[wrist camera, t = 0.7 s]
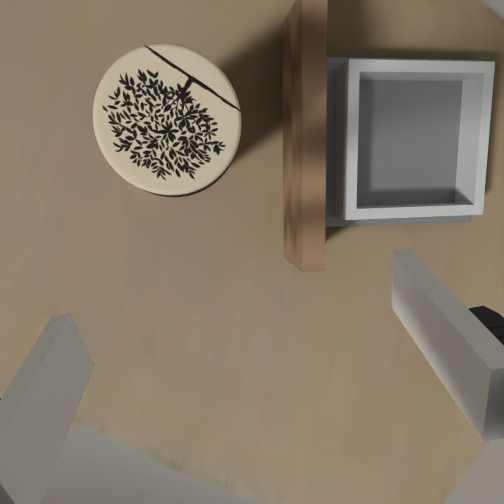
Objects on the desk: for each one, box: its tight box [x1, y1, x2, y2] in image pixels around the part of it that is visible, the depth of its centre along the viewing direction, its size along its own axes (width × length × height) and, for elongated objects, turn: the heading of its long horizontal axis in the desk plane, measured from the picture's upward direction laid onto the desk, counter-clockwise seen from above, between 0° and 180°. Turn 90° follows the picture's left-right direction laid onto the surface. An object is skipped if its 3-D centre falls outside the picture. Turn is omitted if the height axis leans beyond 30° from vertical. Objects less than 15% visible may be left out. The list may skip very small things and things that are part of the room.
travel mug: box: [93, 43, 242, 197], centre depth 29 cm, size 8×8×18 cm
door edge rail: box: [282, 0, 327, 272], centre depth 36 cm, size 22×2×7 cm, turn 1°
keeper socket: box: [325, 57, 495, 227], centre depth 39 cm, size 16×16×4 cm
